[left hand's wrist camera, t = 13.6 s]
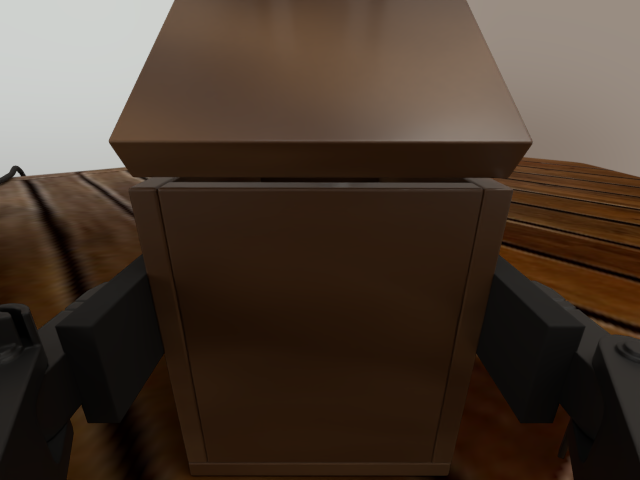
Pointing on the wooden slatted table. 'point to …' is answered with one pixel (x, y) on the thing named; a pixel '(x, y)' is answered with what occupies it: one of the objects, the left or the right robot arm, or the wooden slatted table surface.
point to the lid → (320, 93)
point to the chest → (320, 316)
